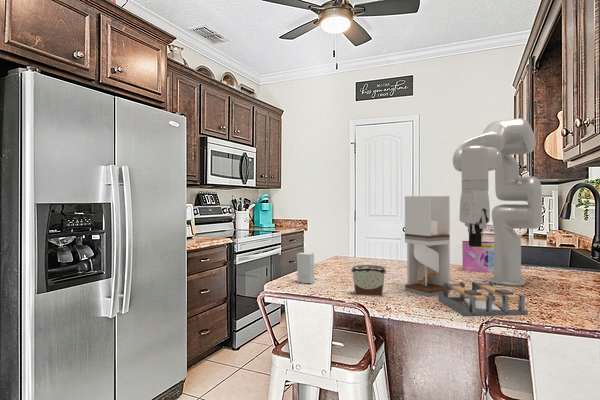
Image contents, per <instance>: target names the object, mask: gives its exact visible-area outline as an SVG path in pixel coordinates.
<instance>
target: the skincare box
mask: <svg viewBox="0 0 600 400" xmlns="http://www.w3.org/2000/svg"><path fill="white" fill-rule="evenodd" d="M296 265H297V266H296V268H297V271H296V272H297V275H296V276H297V283H298V282H301V283H300V284H304V283H310V284H309V285H312V284H314V283H315V282H316V281H315V253H312V252H298V253H296ZM313 282H314V283H313ZM311 283H312V284H311Z"/></svg>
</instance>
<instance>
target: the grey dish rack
mask: <svg viewBox="0 0 600 400" xmlns="http://www.w3.org/2000/svg"><path fill="white" fill-rule="evenodd" d="M459 283H460V284H461V285H462V287H464V288H465V287H466V283H464V282H462V281H460V282H459ZM477 283H478V282H475V281H472V282H471V290H475V291H477V292H478V290H477ZM487 283H490V285H491V286H492V287H494V283H493V282H491V281H488V282H487ZM487 292H488V291H487ZM484 296H485V297H487V301H486V311H475V297H474V296H470V308H469V307H468V305H465V304H463V303H461V301H463V302H465V301H464V299H465V298H469V297H467V296H465V295H463V294H461V293H459V296H449V293H448V284H447V283H443V293H438V295H437V301H439V302H441V303H442V304H444V305H446V306H447V307H449V308H450V309H452V310H453V311H456V312H458V313H459V314H460V315H463V316H464V317H480V316H481V317H482V316H484V317H485V316H514V315H515V316H517V315H518V316H519V315H529V310H527V309H525V299H526V297H525V295H523V294H518V295H517V296H519V297H520V300H517V302H518V307H517V309H509V300H508V296H507V295H502V297H501V300H502V301H501V307H502V309H500V310H492V302H493V301H496V296H494V294H493V293H490V292H488V295H484ZM459 301H460V302H459Z"/></svg>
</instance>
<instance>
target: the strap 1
mask: <svg viewBox="0 0 600 400" xmlns="http://www.w3.org/2000/svg"><path fill="white" fill-rule="evenodd" d="M448 290H450V291H455V292H457V293H459V294H460V293H461V294H463V295H465V296H467V297H469V298H470V296H474V297H475V300H476V301H487V297H485V296H486V295H482V292H480V291H478V290H477V291H475V290H472V289H468V288H467V287H466V288H464V287H462V285H461V284H460V282H459V283H457V282H456V283H455V282H454V283H450V284H448Z"/></svg>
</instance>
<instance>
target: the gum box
mask: <svg viewBox="0 0 600 400" xmlns="http://www.w3.org/2000/svg"><path fill="white" fill-rule="evenodd" d="M461 242H462V245H461V246H462V251H461V252H462V270H464V272H468V271H467V270H471V271H470V272H475V271H483V272H482V273H492V271H493V270H494V241H482V246H481V247H471V246H469V240H461Z"/></svg>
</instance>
